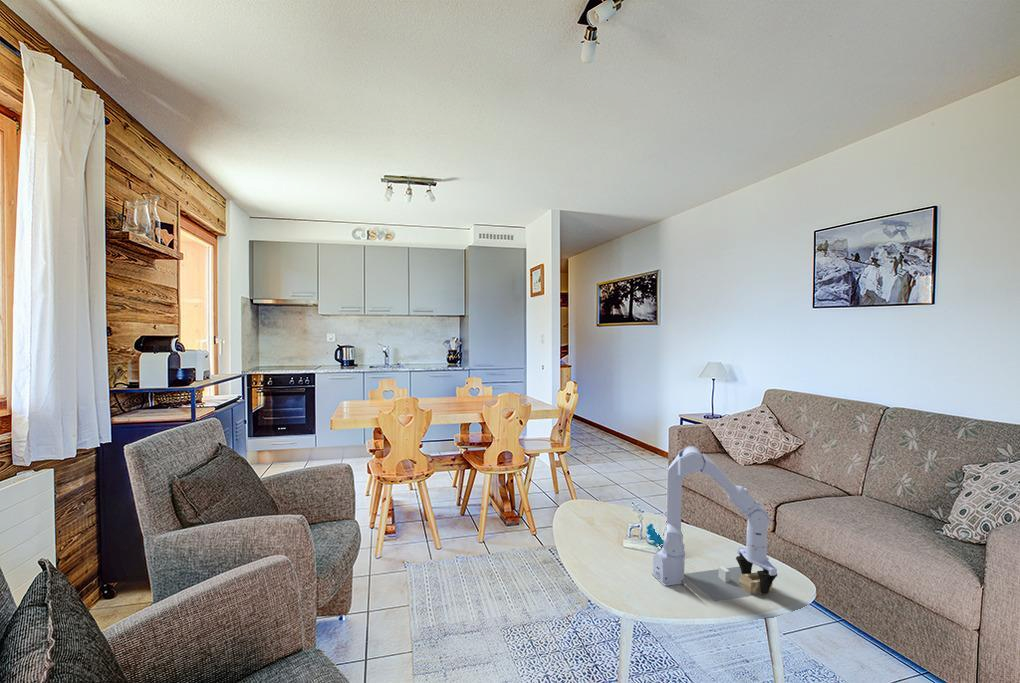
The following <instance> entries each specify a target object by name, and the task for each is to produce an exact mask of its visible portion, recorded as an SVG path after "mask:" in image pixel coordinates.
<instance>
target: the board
mask: <svg viewBox="0 0 1020 683" xmlns="http://www.w3.org/2000/svg"><path fill="white" fill-rule="evenodd" d="M739 575H742V572H741V569H740V566H735V567H733V566H732V567H725V566H724V565H720V566H718V569H712V570H710V569H709V570H703V571H695V572H688V573H684V577H686V578H687V579H689V580H690V581H691V582H692V583H693V584H694V585H695V586H697V587H698V588H699V589H700V590H701V591H702V592H703V593H705V594H706V595H707V596H708V597H710V598H711V599H712V600H713V601H714V602H718V601H725V600H730V599H731V600H732V599H737V598H738V599H739V598H744V597H746V598H747V597H752V596H759V595H763V594H762V593H758V594H751V595H750V594H749V593H748V592H746V591H745V590H744V589H742V588H741V587H740V586H739ZM776 592H777V591H776V590H774V589H773V588H772V592H768V593H767V594H772V593H776Z"/></svg>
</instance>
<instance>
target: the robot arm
mask: <svg viewBox="0 0 1020 683" xmlns="http://www.w3.org/2000/svg"><path fill="white" fill-rule="evenodd" d="M697 472H700V474H702V475H704V474H705V475H709V476H710V477H711V478H712V479H713V480H714V481H715V482H716V483H717V484H718V485H720V487H721V488H723V489H724V490H725V491H726V492H727V499H728V500H729V501H730V502H731V503H732V505H733V506H735V507H736V508H737V509H738V510H739V511H740V512H741V513H742V514H743V515H745V516H746V517H747V526H746V540H745V541H746V542H745V543H746V545H745V547H746V548H745V547H743V546H741V547H740V546H738V547H737V550H736V551H737V552H736V554H737V555H738V556H736V557H735V560H736V561H737V564H738V565H739V566H738V567H740V569H741V572H742V574H749V573H752V569H753V565H756V566H757V567H759V568H760V569H762V570H757V573H758V575H759V579H760V590H761V593H762V594H761V595H766V594H767V595H768V594H769V593H768V592H769V589H770V586H771V584H772V585H773V582H774V580H775V579H776V578H777V577H778V573H777V572H778V571H777V570H778V569H777V567H775V566H774V565H773V564H772V563H771V562H770V560H769V557H768V556H767V553H768V547H767V546H768V530H767V529H768V526H769V525H770V521H771V519H770V518H769V515H768V513H767V511H766V509H765V508H764V506H763V505H762V503H760V501H759V500H756V499H755V498H753V496H752V495H751V494H750V491H749V489H747V488H746V487H745V488H744V487H743V486H742V485H736V484H734V482H733V481H732V480H730V478H729V477H728V476H727V475H726V474H725V473H724V471H722V470H721V469H720V467H718V465H717V464H716V463H715V462H714V461H713V460H712V459H711V458H710V457H709V456H707V454H705V453H702V451H701V450H700V448H698V447H697V446H694V445H692V446H691V445H688V446H686V447H684V448H682V449H681V450H679V451H678V454H677V455H676V457H675V458H674V459H673V460H672V462H671V463H670V465H668V468H667V485H666V486H667V488H666V489H667V491H666V494H667V495H666V498H667V500H666V527H665V529H664V531H663V532H662V533H663V536H664V544H663V547H662V546H661V547H662V548H661V549H660V551H658V552H656V553H654V555H653V557H652V558H653V559H652V560H653V562H652V563H653V564H652V566H653V568H652V572H651V574H652V575H653V577H655V578H656V579H657V580H658V581H659V582H660V583H661V584H662V585H663V586H665V587H666V586H674V585H681V584H685V582H684V581H683V580H684V579H685V575H684V574H685V559H686V558H685V557H686V556H685V555H686V554H685V552H686V551H685V545H684V535H683V532H682V497H683V496H682V493H683V491H682V490H683V489H682V488H683V478H685V477H687V476H688V475H690V474H694V473H697Z"/></svg>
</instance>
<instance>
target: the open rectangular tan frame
mask: <svg viewBox="0 0 1020 683" xmlns="http://www.w3.org/2000/svg"><path fill="white" fill-rule="evenodd" d="M739 586H740V587H741V588H742V589H744V590H745V591H746V592H748V593H749V594H750V595H751V594H758V593H761V590H760V579H759V575H758V573H757V572H751V573H749V574H742V575H739ZM772 589H773V583H772V584H771V586H770V589H769V592H772Z"/></svg>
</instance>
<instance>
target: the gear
mask: <svg viewBox="0 0 1020 683" xmlns="http://www.w3.org/2000/svg"><path fill="white" fill-rule="evenodd" d="M653 525H654V524H653V523H649V524H648V526H646V534H647V535H648V541H649V540H654V541H653V542H652V545H653V546H654V547H656V546H660V545H661V544H664V543H663V542H664V541H663V540H662V539H661V537H660V535H659V534H658V535H657V533H656V532H655V529H654V527H653ZM658 544H659V545H658ZM661 546H662V545H661Z"/></svg>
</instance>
